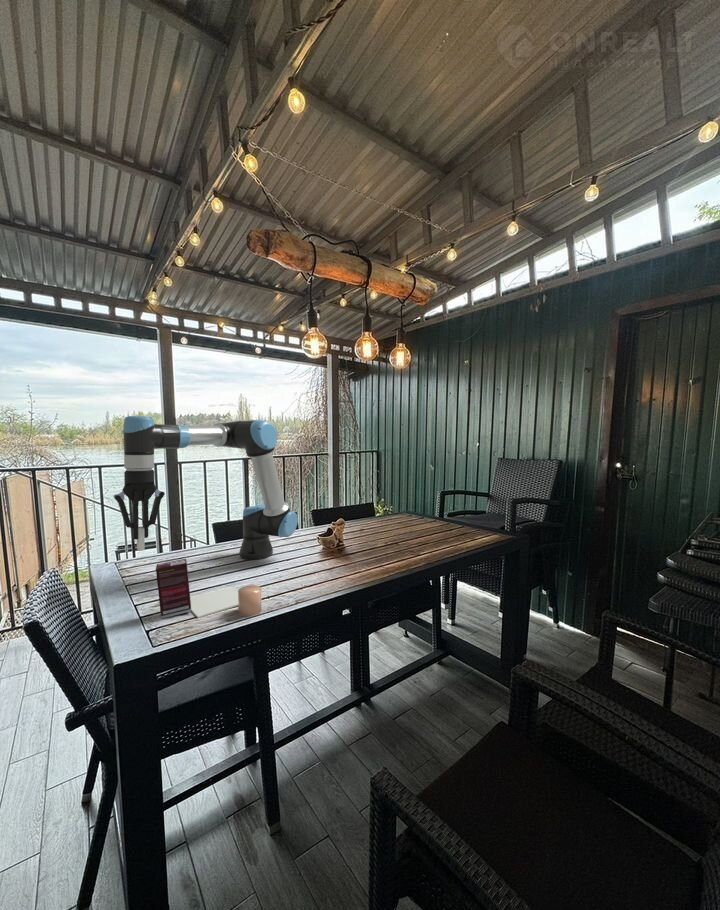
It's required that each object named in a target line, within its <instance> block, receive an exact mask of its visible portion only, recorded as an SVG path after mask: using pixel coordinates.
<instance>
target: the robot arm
mask: <svg viewBox="0 0 720 910" xmlns="http://www.w3.org/2000/svg"><path fill="white" fill-rule="evenodd" d="M122 433H123V455H124V456H123V457H124V458H123V460H124V461H123V464H124V465H123V467H124V469H125V471H124V479H123V480H124V482H123V483H124V484H123V485H124V486H123V488H122V490H121V491H120V492H119V493H116V494H114V495H113V499H115V501H116V502H117V504H118V507H119V510H120V513H121V516H122V520H123V523H124V525H125V526H126V528H128V529H129V528H131V530H132V539H133V540H136V550H137V551H139V552H141V551H146V549H145V545H146V544H145V543H146V542H145V539H147V538H149V527H150V526H152V525H154V524H156V522H157V518H158V513H159V510H160V505H161V501H162V499H163V498H164V497H165V491H162V490H159V489H157V486H156V484H155V470H154V468H155V449H156V450H157V449H158V450H159V449H160V450H161V449H162V450H163V449H169V450H170V449H176V450H179V449H184V448H187V447H188V446H191V447H192V446H209V445H213V446H215V447H219V448H220V447H221V448H222V447H224V448H231V449H232V448H233V449H241V450H242V449H244V450H245V454H246V456H247V457H248V458H249V459H251V461H252V465H253V468H254V471H255V472H254V473H255V475H256V479H257V484H258V486H259V489H260V493H261V496H262V500H263V503H264V504H258V505H252V506H248V507H245V508H244V509H243V511H242V534H243V535H242V536H243V537H242V541H241V545H240V549H239V558H241V559H242V560H246V561H247V560H248V561H249V560H251V561H254V560H262V559H267V558H270V557H272V556H273V553H274V549H273V546H272V543H271V542H272V541H271V540H270V536H272V537H279V538H289V537H291V536H292V535H293V534H294V533H295V531H296V529H297V527H298V521H299V519H298V515H297V513H296V512H295V511H291V509H290V505H289V503H288V502H285V498H284V494H283V491H282V487H281V483H280V479H279V475H278V470H277V467H276V463H275V459H274V455H273V453H274V451H275V449H276V448H275V447H276V446H277V444H278V438H279V436H278V432H277V429H276V427H275V426H274V425H273V423H271V422H270V421H267V420H261V419H256V420H236V421H229V422H216V423H214V424H212V425H187V424H186V425H180V424H157V423H155V420H154V418H153V417H152V416H143V415H129V416H126V417H125V418H124V420H123V429H122ZM153 495H154V499H153V503H152V506H151V507H152V508H151V512H150V513H149V500H150V499H151V498H152V496H153ZM125 496H126V497H127V498H128V499H129V500H130V502H131V520H130V517H129V512H128V510H127V506H126V504H125V498H126V497H125ZM139 502H141V524H142V526H139V505H140V503H139ZM149 514H150V515H149Z"/></svg>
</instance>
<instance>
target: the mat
mask: <svg viewBox="0 0 720 910" xmlns="http://www.w3.org/2000/svg"><path fill="white" fill-rule="evenodd" d="M190 600H191V612H192V613H193V615H194V616H195V617H196V618H197V619H200V618H204V617H207V616H210V615H212V614H216V613H219V612H223V611H225V610H229V609H232V608H236V607H238V589H236V588H235V587H233V586H232V585H231V586H226V587H223V588H218V589H216V590H213V591H208V592H203V593H200V594H197V595H193V596H190Z"/></svg>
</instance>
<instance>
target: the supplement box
mask: <svg viewBox="0 0 720 910" xmlns="http://www.w3.org/2000/svg"><path fill="white" fill-rule="evenodd" d="M187 563H188V561H187V558H182V559H175V560H171V561H166V562H161V563H157V564H156V566H155V575H156V583H157V591H158V594H157V595H158V600H159V610H160V611H159V612H160V618H161V619H166V618H170V617H175V616H178V615H181V614H185V613H186V614H187V613H190V612H192V611H191V600H190V597H191V593H190V592H191V591H190V580H189V573H188V572H189V571H188V564H187Z"/></svg>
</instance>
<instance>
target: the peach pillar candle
mask: <svg viewBox="0 0 720 910" xmlns="http://www.w3.org/2000/svg"><path fill="white" fill-rule="evenodd" d="M237 591H238V606H237V607H238V608H237V609H238V616H239V615H240V616H242V617H254V616H256V615H258V614H260V613H261V612H262V586H260V585H255V584H251V585H245V586H242V587H240V588H238V589H237Z"/></svg>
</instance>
